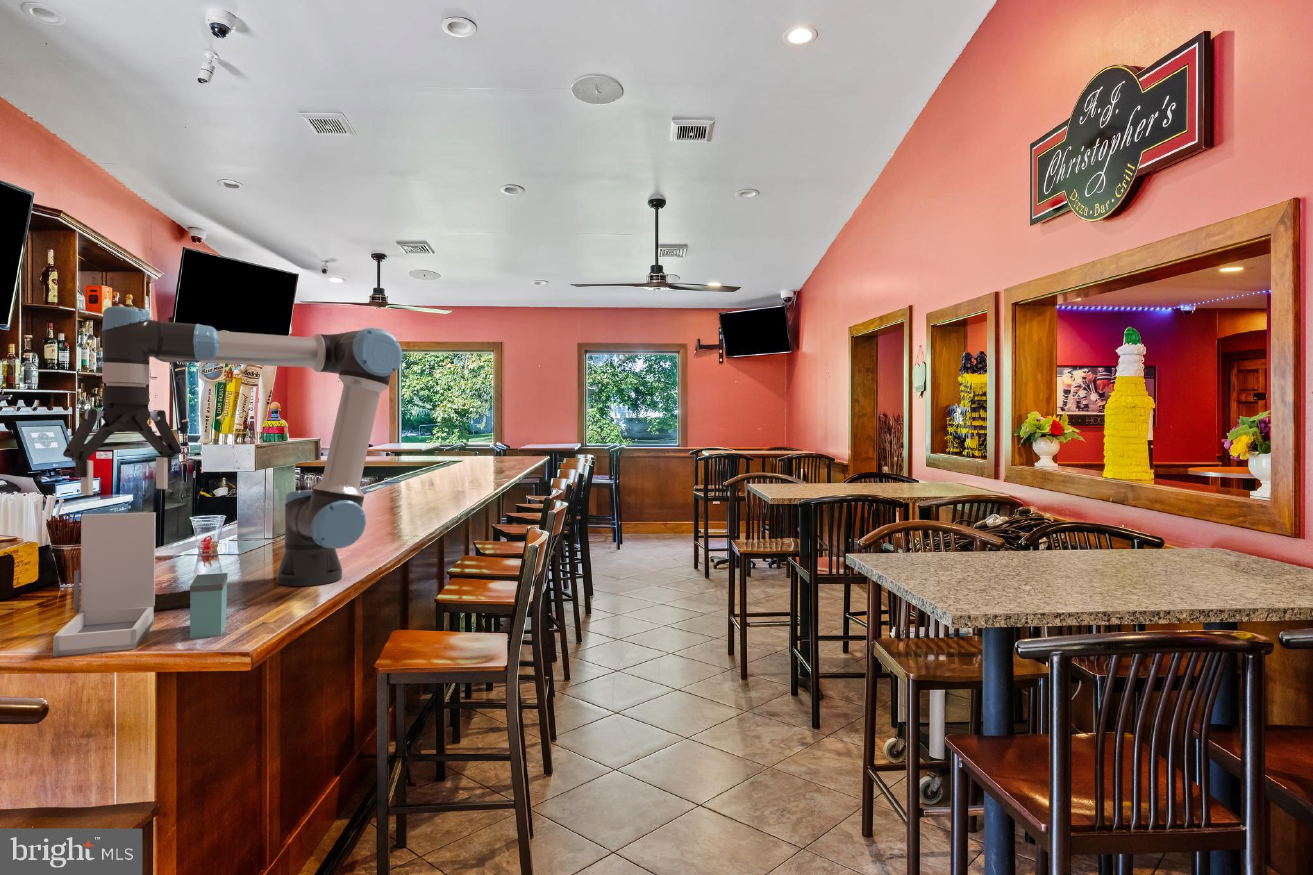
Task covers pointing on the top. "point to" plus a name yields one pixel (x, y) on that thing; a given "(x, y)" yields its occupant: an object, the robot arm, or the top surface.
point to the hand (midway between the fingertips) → (125, 491)
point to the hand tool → (172, 600)
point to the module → (208, 605)
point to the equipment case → (112, 585)
